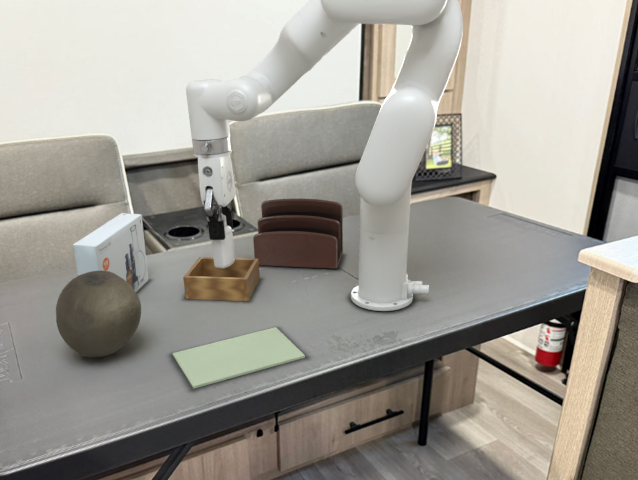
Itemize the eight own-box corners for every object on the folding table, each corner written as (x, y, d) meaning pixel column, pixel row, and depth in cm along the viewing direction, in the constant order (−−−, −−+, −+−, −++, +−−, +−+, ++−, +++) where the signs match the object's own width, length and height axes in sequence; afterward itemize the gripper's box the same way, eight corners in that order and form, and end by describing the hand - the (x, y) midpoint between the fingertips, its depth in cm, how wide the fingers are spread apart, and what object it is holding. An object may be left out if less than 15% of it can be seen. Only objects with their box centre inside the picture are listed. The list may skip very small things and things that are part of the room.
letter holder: (264, 251, 151) (261, 196, 146) (343, 254, 148) (343, 198, 142) (254, 266, 143) (250, 208, 137) (337, 270, 139) (337, 210, 133)
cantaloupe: (68, 381, 99) (50, 298, 93) (61, 343, 111) (44, 268, 105) (153, 361, 104) (142, 281, 98) (138, 327, 116) (126, 254, 110)
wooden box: (259, 279, 135) (258, 258, 133) (248, 301, 125) (246, 279, 123) (201, 277, 138) (199, 257, 135) (185, 299, 127) (183, 277, 125)
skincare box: (108, 322, 119) (95, 246, 112) (83, 320, 120) (68, 244, 113) (151, 280, 137) (142, 212, 131) (129, 278, 138) (118, 211, 132)
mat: (276, 329, 113) (275, 326, 113) (305, 357, 104) (305, 355, 103) (172, 355, 106) (172, 353, 106) (193, 389, 96) (193, 386, 96)
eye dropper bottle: (241, 263, 129) (236, 209, 123) (218, 270, 126) (212, 215, 121) (231, 258, 132) (225, 205, 127) (208, 265, 129) (201, 210, 124)
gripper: (219, 155, 110) (228, 248, 118) (240, 137, 125) (248, 221, 133) (179, 156, 111) (192, 248, 119) (206, 139, 127) (215, 221, 134)
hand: (221, 233), depth 126 cm, fingers closed on eye dropper bottle, 5 cm apart
